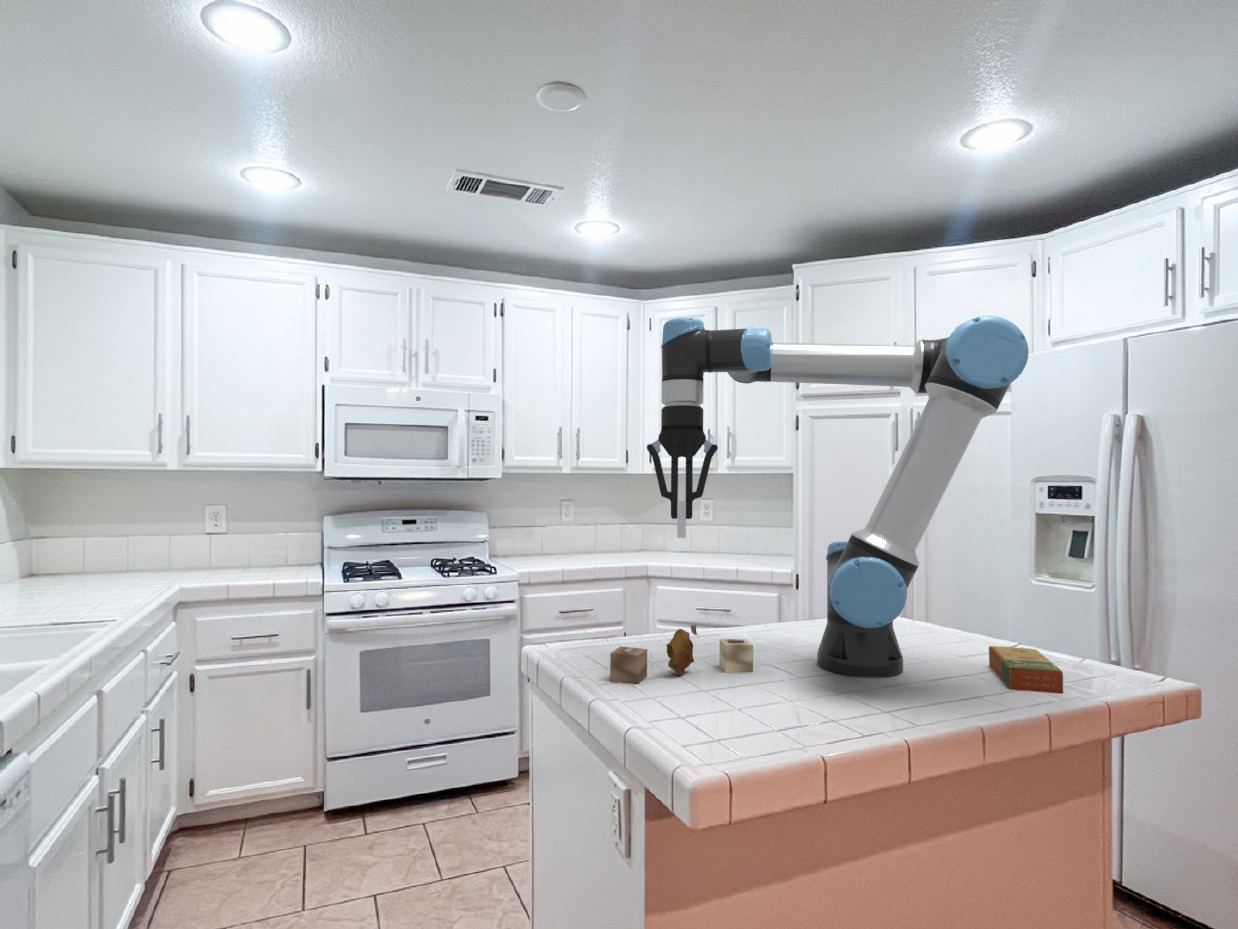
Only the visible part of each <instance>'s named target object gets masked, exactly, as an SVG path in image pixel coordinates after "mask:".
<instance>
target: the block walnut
mask: <svg viewBox="0 0 1238 929" xmlns="http://www.w3.org/2000/svg"><path fill="white" fill-rule="evenodd" d="M609 659H610V661H609V662H610V663H609V664H610V667H609V668H610V671H609V672H610V674H609V677H610V679H609V682H610V681H611V682H610V683H618V682H622V684H627V683H633V684H632V685H637V684H638V685H639V684H641V683H642V682H643V681H644V680H646V679H647V678H648V648H641V647H631V646H621V645H620V646H619V647H617V648H616V649H614V650H612V651H611V652H610V658H609ZM646 677H647V678H646ZM641 681H642V682H641ZM640 682H641V683H640Z"/></svg>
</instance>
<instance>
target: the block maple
mask: <svg viewBox="0 0 1238 929" xmlns="http://www.w3.org/2000/svg"><path fill="white" fill-rule="evenodd" d="M719 668H721V669H722V671H723V672H724V673H726V674H741V673H743V674H744V673H746V674H747V673H754V644H753V643H752V642H750V641H749V640H748V639H746V638H720V639H719Z"/></svg>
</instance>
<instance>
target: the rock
mask: <svg viewBox="0 0 1238 929" xmlns="http://www.w3.org/2000/svg"><path fill="white" fill-rule="evenodd" d="M696 626H697V624H696V623H694V624H690V630H691V634H693V635H694V636H695V635H696V636H697V635H699V633H697V627H696ZM693 648H694V644H693V641H692V640H691V638H690V632H688V631H687V630H685V629H682V628H678V629H677V630H676V631H675V633H673V637H672V639H670V641H669V643H666V654H667V657H668V658H669V660H668V663H667V664H668V668H670V669H671V670H673V671H674V672H676V673H677V674H678V675H680V676H681V675H683V674H684V673H685V671H686V669H688V667H690V665H691V664H693V663H694V662H695V659H694V657H693V653H694V651H693V650H694V649H693Z"/></svg>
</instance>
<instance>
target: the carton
mask: <svg viewBox="0 0 1238 929" xmlns="http://www.w3.org/2000/svg"><path fill="white" fill-rule="evenodd" d="M988 663H989V664H988V665H989V667H990V669H991V670H992V671H993V673H994V674H995V675H996V676H997V677H998V679H999V680H1000V681H1001V682H1002V683H1003V685H1004V686H1005V687H1006V688H1007V689H1008V690H1012V691H1014V690H1015V691H1025V692H1027V691H1028V692H1037V693H1038V692H1040V693H1052V694H1053V693H1054V694H1055V693H1056V694H1063V693H1064V673H1063V670H1062V669H1060V668H1059V667H1058V666H1057V665H1055V663H1053V662H1052V661H1050V660H1049V659H1048V658H1047V657H1045V655H1043V654H1042V652H1040V651H1038V650H1037V648H1028V647H1025V648H1024V647H1012V646H994V645H989V646H988Z"/></svg>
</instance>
